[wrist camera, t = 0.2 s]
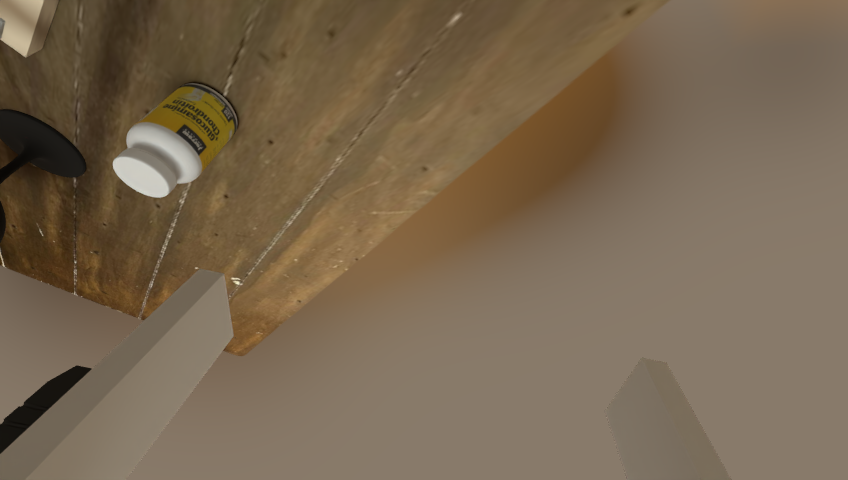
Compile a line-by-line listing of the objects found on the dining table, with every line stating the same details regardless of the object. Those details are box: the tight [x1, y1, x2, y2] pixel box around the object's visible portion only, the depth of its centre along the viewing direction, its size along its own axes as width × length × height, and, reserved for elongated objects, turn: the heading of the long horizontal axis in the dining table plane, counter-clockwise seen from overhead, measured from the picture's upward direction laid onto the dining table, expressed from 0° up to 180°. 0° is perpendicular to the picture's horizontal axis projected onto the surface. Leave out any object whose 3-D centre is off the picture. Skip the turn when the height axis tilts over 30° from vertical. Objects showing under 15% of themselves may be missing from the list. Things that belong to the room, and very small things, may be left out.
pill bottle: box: [113, 83, 238, 197], centre depth 37 cm, size 6×6×12 cm
